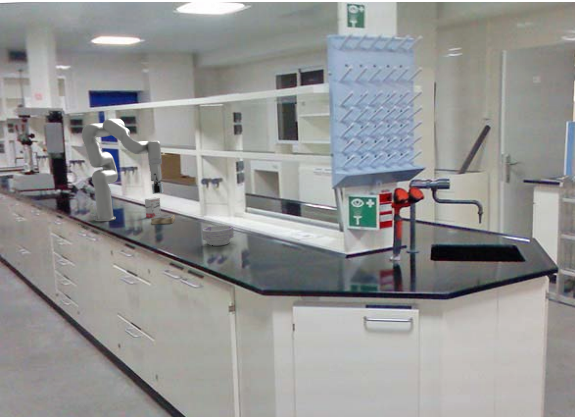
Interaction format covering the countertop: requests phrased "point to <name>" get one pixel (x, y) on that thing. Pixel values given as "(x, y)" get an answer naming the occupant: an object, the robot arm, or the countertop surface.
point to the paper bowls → (218, 235)
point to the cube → (160, 188)
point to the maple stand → (163, 219)
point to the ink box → (152, 207)
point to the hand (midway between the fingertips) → (158, 191)
